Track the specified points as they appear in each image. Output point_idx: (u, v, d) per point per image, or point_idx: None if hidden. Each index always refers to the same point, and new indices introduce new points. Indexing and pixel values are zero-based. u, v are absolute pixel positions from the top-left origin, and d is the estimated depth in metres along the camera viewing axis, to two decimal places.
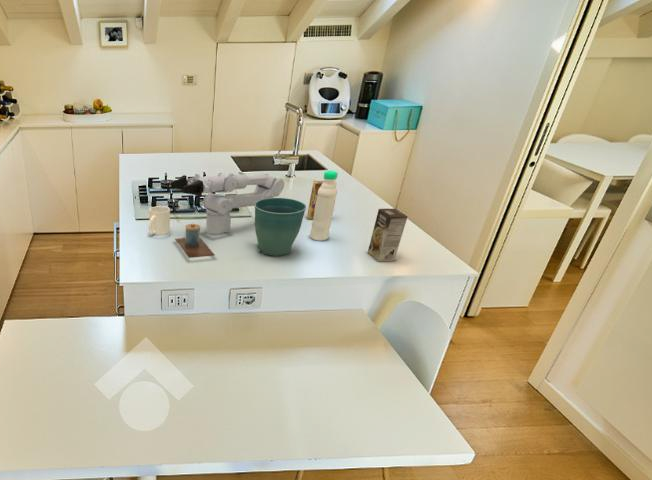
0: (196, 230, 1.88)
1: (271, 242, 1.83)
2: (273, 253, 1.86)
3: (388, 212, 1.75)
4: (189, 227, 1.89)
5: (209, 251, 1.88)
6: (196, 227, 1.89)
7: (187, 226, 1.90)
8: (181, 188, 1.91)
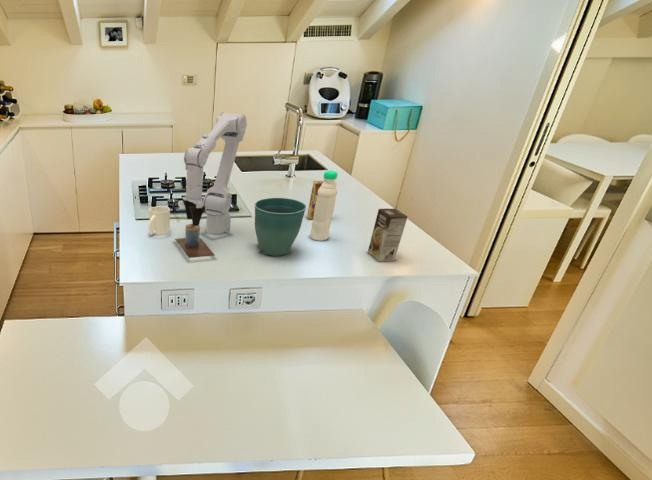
0: (196, 230, 1.88)
1: (271, 242, 1.83)
2: (273, 253, 1.86)
3: (388, 212, 1.75)
4: (189, 227, 1.89)
5: (209, 251, 1.88)
6: (196, 227, 1.89)
7: (187, 226, 1.90)
8: (194, 206, 1.89)
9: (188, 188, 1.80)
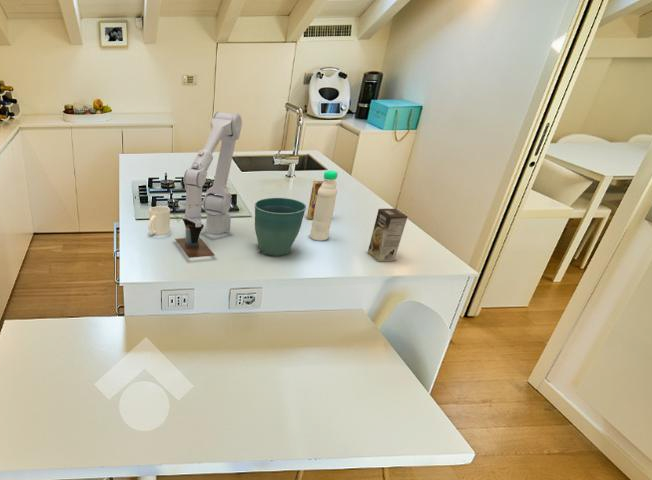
0: None
1: (271, 242, 1.83)
2: (273, 253, 1.86)
3: (388, 212, 1.75)
4: None
5: (209, 251, 1.88)
6: None
7: (187, 226, 1.90)
8: None
9: (187, 207, 1.84)
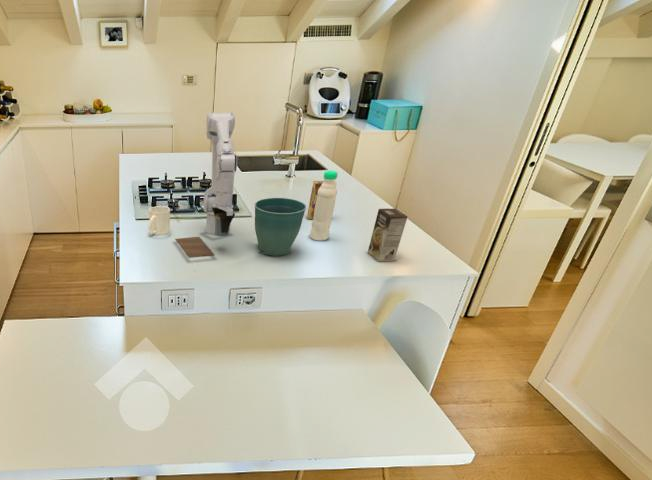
0: None
1: (271, 242, 1.83)
2: (273, 253, 1.86)
3: (388, 212, 1.75)
4: None
5: (209, 251, 1.88)
6: None
7: (217, 215, 1.82)
8: None
9: (218, 195, 1.76)
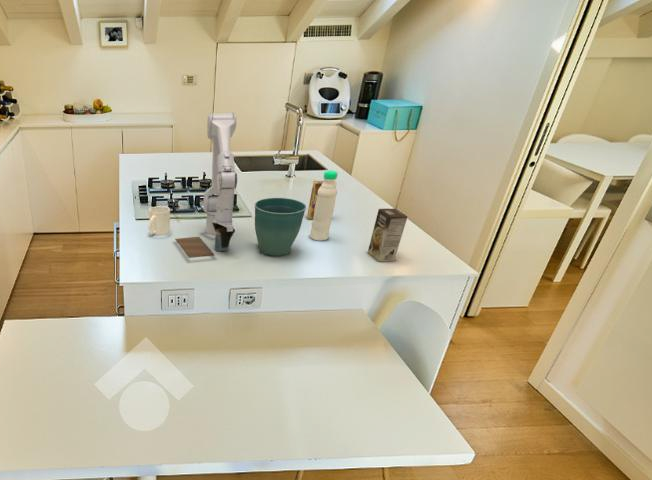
0: None
1: (271, 242, 1.83)
2: (273, 253, 1.86)
3: (388, 212, 1.75)
4: None
5: (209, 251, 1.88)
6: None
7: (217, 230, 1.85)
8: None
9: (219, 211, 1.79)
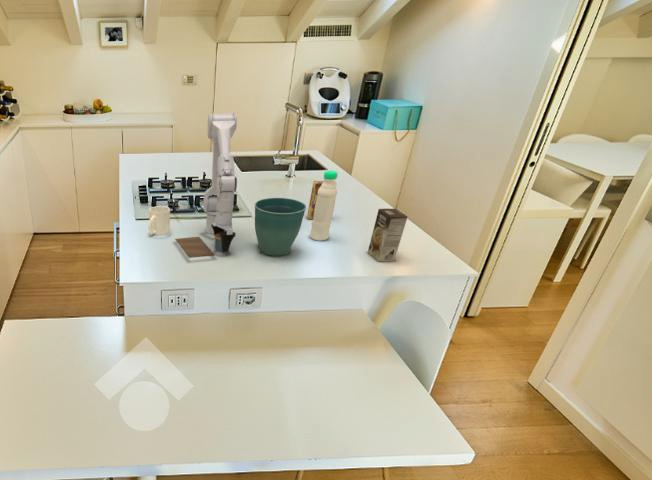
0: None
1: (271, 242, 1.83)
2: (273, 253, 1.86)
3: (388, 212, 1.75)
4: (219, 236, 1.85)
5: (209, 251, 1.88)
6: None
7: (217, 235, 1.86)
8: (223, 231, 1.89)
9: (218, 214, 1.80)
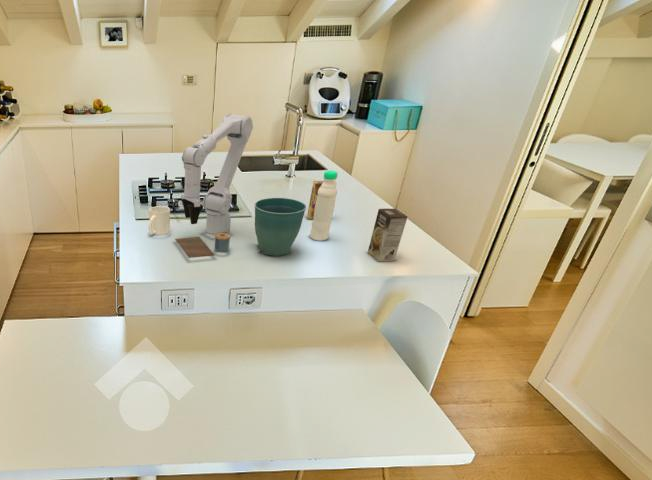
0: (226, 239, 1.84)
1: (271, 242, 1.83)
2: (273, 253, 1.86)
3: (388, 212, 1.75)
4: (219, 236, 1.85)
5: (209, 251, 1.88)
6: (226, 236, 1.85)
7: (217, 235, 1.86)
8: (192, 204, 1.92)
9: (186, 187, 1.83)
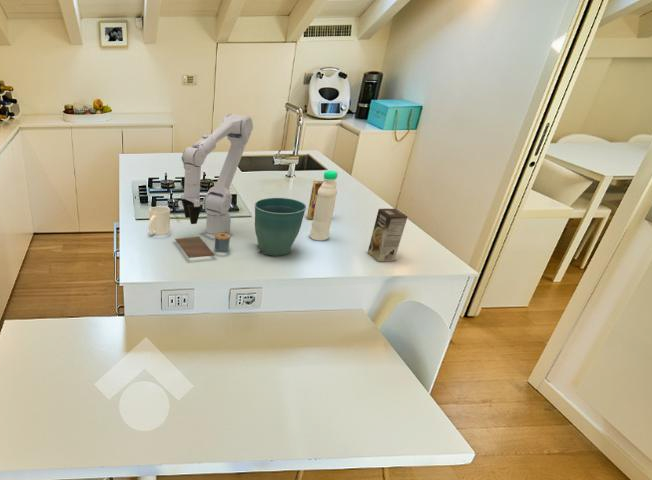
0: (226, 239, 1.84)
1: (271, 242, 1.83)
2: (273, 253, 1.86)
3: (388, 212, 1.75)
4: (219, 236, 1.85)
5: (209, 251, 1.88)
6: (226, 236, 1.85)
7: (217, 235, 1.86)
8: (192, 204, 1.92)
9: (186, 187, 1.83)
